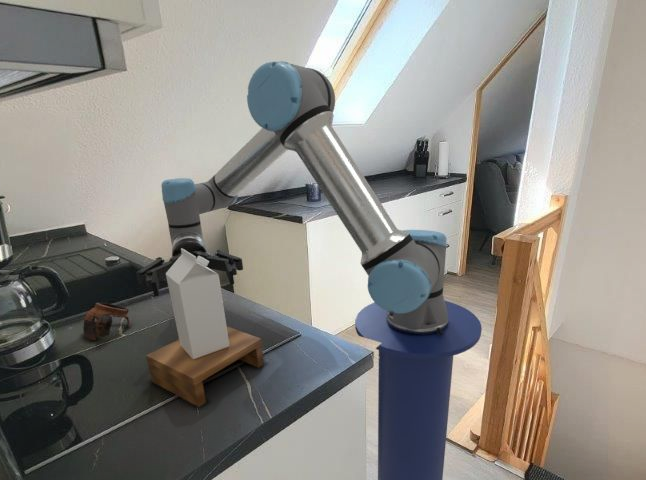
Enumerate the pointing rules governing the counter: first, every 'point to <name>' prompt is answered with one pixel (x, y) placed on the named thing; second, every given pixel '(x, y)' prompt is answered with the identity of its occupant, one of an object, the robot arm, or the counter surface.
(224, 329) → the milk carton
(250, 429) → the counter surface
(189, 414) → the counter surface
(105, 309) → the pottery mug
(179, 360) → the oak shelf
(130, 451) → the counter surface
